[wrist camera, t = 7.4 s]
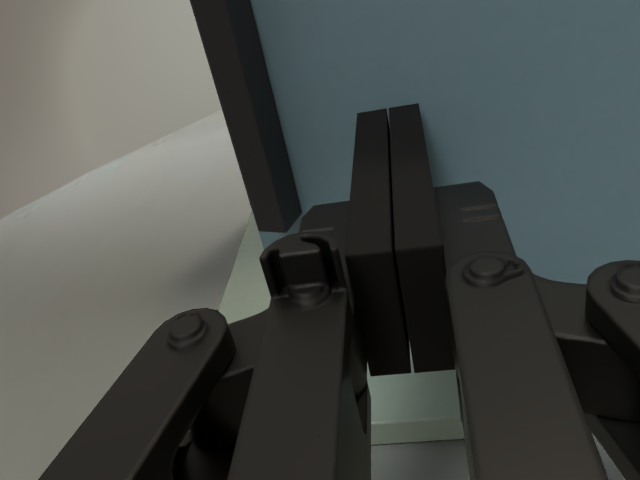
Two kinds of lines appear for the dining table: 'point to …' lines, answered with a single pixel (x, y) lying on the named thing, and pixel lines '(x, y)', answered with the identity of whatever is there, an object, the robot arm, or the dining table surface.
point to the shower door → (443, 109)
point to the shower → (386, 391)
